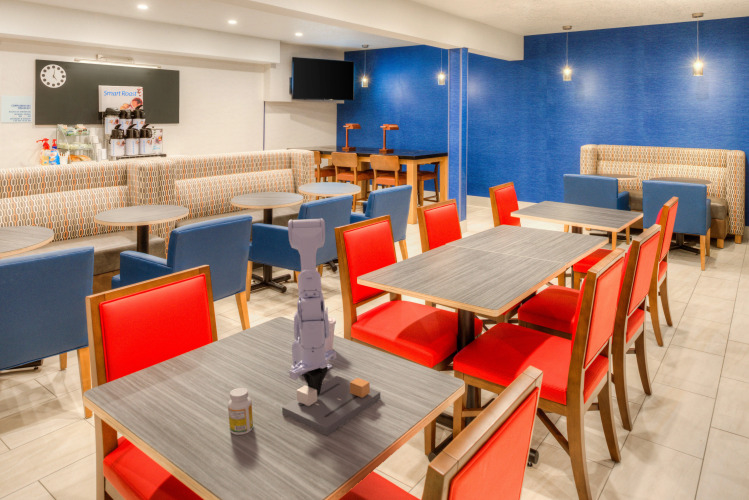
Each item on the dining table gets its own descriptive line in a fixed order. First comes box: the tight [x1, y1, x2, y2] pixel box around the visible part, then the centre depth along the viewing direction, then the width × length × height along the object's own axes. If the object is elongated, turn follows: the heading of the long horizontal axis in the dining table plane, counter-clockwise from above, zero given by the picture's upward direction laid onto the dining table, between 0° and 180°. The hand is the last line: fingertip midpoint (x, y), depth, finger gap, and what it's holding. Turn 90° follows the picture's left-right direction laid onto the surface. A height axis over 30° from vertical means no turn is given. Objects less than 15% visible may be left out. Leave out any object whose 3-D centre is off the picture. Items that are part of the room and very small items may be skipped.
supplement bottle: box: [227, 387, 254, 436], centre depth 122 cm, size 5×5×10 cm
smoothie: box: [325, 306, 337, 352], centre depth 163 cm, size 6×6×14 cm
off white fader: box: [296, 384, 317, 406], centre depth 130 cm, size 4×3×3 cm
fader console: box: [281, 375, 381, 436], centre depth 132 cm, size 15×20×2 cm
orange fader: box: [350, 377, 370, 398], centre depth 133 cm, size 4×3×3 cm
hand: (315, 394), depth 132 cm, fingers closed
